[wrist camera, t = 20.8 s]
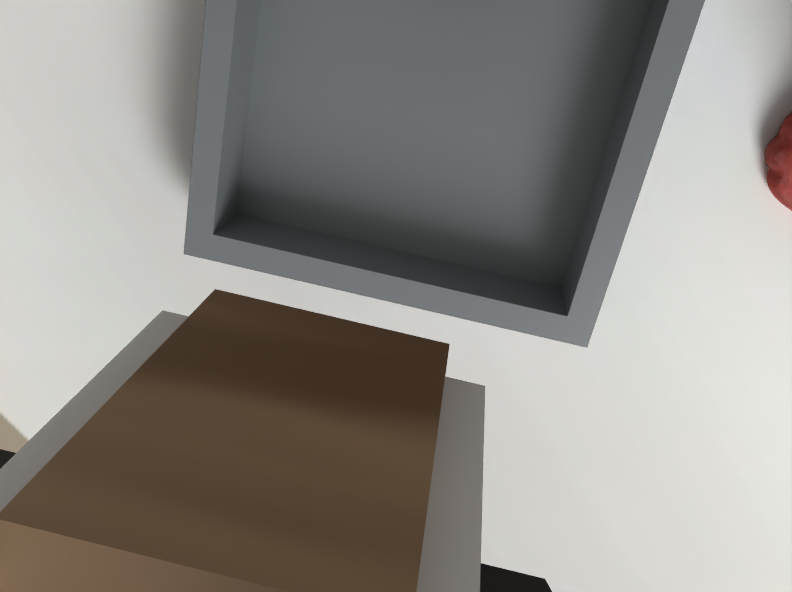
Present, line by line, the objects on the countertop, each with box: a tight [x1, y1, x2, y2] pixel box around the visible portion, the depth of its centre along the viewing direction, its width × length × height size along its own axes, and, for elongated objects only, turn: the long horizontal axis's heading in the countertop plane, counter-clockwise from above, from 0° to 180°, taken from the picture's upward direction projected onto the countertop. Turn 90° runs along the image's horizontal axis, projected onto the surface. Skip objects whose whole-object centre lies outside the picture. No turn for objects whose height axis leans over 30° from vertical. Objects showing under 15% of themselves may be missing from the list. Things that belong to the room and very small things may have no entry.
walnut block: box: [0, 289, 449, 592], centre depth 10 cm, size 4×4×6 cm
